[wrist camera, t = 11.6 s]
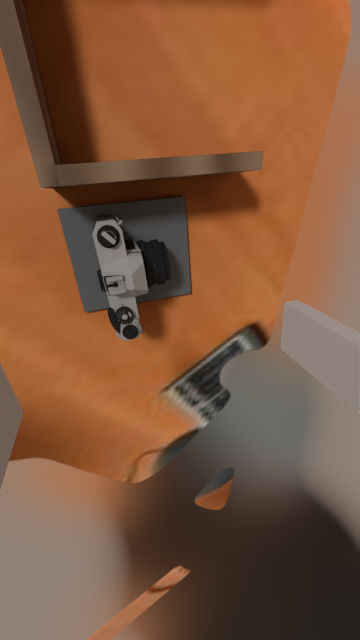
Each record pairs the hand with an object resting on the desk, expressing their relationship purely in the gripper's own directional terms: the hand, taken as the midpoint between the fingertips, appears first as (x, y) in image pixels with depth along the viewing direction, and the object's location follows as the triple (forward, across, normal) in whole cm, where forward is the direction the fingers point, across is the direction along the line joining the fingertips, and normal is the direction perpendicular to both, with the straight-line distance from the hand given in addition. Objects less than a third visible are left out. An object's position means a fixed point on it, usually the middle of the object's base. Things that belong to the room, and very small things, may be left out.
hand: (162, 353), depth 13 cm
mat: (+23, +2, 0) cm, 23 cm away
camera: (+22, +1, -2) cm, 22 cm away
